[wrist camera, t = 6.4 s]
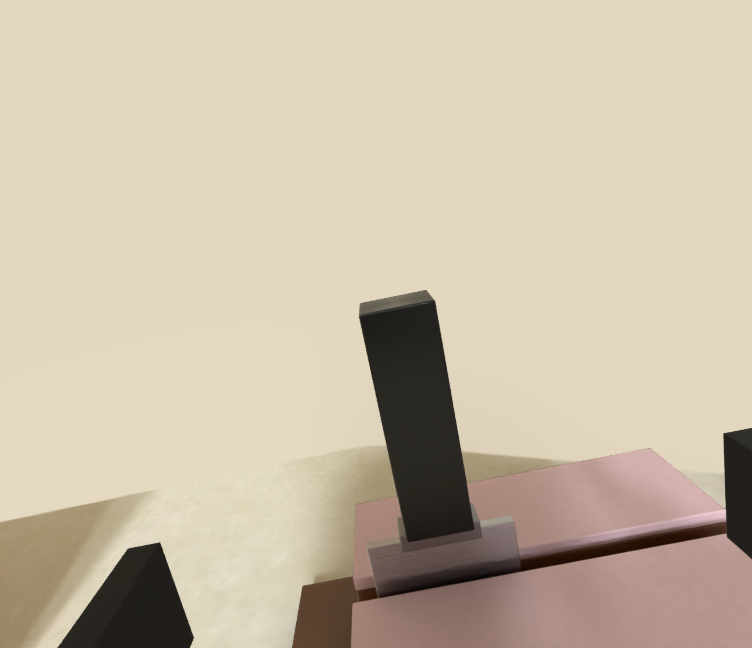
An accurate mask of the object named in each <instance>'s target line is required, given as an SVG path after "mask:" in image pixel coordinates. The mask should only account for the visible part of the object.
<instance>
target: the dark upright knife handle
mask: <svg viewBox="0 0 752 648" xmlns="http://www.w3.org/2000/svg"><path fill="white" fill-rule="evenodd" d="M359 319H360V323H361V328H362V333H363V337H364V342H365V347H366V351H367V356H368V361H369V365H370V370H371V375H372V380H373V384H374V389H375V394H376V398H377V403H378V408H379V412H380V417H381V421H382V426H383V431H384V436H385V440H386V445H387V450H388V454H389V459H390V464H391V468H392V473H393V478H394V482H395V487H396V492H397V497H398V501H399V506H400V511H401V515H402V517H398V518H397V523H398V532H399V537H393V538H388V539H383V540H378V541H372V542H367V552H368V557H369V561H370V565H371V569H372V573H373V578H374V582H375V586H376V590H377V594H378V598H384V597H389V596H394V595H400V594H405V593H410V592H416V591H421V590H427V589H432V588H437V587H443V586H448V585H453V584H459V583H464V582H469V581H475V580H480V579H486V578H491V577H496V576H502V575H507V574H512V573H518V572H522V569H521V562H520V555H519V549H518V542H517V536H516V529H515V522H514V519H513V517H512V516H511V515H510V516H504V517H499V518H494V519H488V520H483V521H480V520H479V518H478V515H477V512H476V510H475V507H474V505H473V504H472V503H471V504H470V499H469V493H468V487H467V481H466V476H465V470H464V464H463V458H462V453H461V448H460V441H459V435H458V430H457V424H456V418H455V412H454V407H453V401H452V395H451V389H450V384H449V378H448V372H447V366H446V361H445V355H444V349H443V343H442V338H441V332H440V326H439V321H438V315H437V309H436V303H435V300H434V299H433V298H432V297H431V295H430V294H429V293H428V292H427V290H423V291H418V292H414V293H409V294H404V295H399V296H394V297H389V298H384V299H379V300H375V301H369V302H364V303H361V304H360V309H359Z"/></svg>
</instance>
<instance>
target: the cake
mask: <svg viewBox="0 0 752 648" xmlns="http://www.w3.org/2000/svg"><path fill="white" fill-rule="evenodd" d="M467 487H468V493H469V499H470V504H471V503H472V504H473V505H474V507H475V510H476V512H477V515H478V518H479V520H480V521H483V520H488V519H494V518H499V517H504V516H510V515H511V516H512V517H513V519H514V522H515V529H516V536H517V542H518V549H519V555H520V562H521V569H522V572H518V573H512V574H507V575H502V576H496V577H491V578H486V579H480V580H475V581H469V582H464V583H459V584H453V585H448V586H443V587H437V588H432V589H427V590H421V591H416V592H410V593H405V594H400V595H394V596H389V597H384V598H378V594H377V590H376V586H375V582H374V578H373V573H372V569H371V565H370V561H369V557H368V552H367V542H372V541H378V540H383V539H388V538H393V537H399V532H398V523H397V518H398V517H402V515H401V511H400V506H399V501H398V497H391V498H386V499H381V500H376V501H371V502H365V503H360V504H356V512H355V542H354V572H353V581H354V585H355V589H356V592H357V596H358V600H359V602H357V603H353V605H352V634H351V648H752V559H751V558H750V557H749V556H747V555H746V554H745V553H744V552H743V551H742V550H741V549H739V548H738V547H737V546H736V545H735V544H734V543H733V542H732V541H730V540H729V539H728V538H727V532H726V509H725V508H723V507H722V506H721V505H720V504H718V503H717V502H716V501H715V500H713V499H712V498H711V497H710V496H709V495H707V494H706V493H705V492H704V491H702V490H701V489H700V488H699V487H698V486H696V485H695V484H694V483H693V482H691V481H690V480H689V479H688V478H686V477H685V476H684V475H683V474H682V473H680V472H679V471H678V470H677V469H675V468H674V467H673V466H672V465H671V464H669V463H668V462H667V461H666V460H664V459H663V458H662V457H661V456H659V455H658V454H657V453H656V452H655V451H653V450H652V449H651V448H648V449H643V450H637V451H632V452H627V453H622V454H616V455H611V456H606V457H601V458H595V459H590V460H585V461H580V462H574V463H569V464H564V465H559V466H553V467H548V468H543V469H538V470H533V471H527V472H522V473H517V474H512V475H506V476H501V477H496V478H491V479H485V480H480V481H475V482H470V483H467Z"/></svg>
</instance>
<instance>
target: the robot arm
mask: <svg viewBox="0 0 752 648" xmlns="http://www.w3.org/2000/svg"><path fill="white" fill-rule="evenodd" d="M723 436H724V466H725V499H726V530H727V538H728V539H729V540H730V541H732V542H733V543H734V544H735V545H736V546H737V547H738V548H739V549H741V550H742V551H743V552H744V553H745V554H746V555H747V556H749V557H750V558H751V559H752V428H750V429H744V430H739V431H734V432H728V433H724V435H723ZM193 639H194V637H193V634H192V631H191V628H190V625H189V623H188V620H187V617H186V614H185V611H184V609H183V606H182V603H181V600H180V597H179V594H178V592H177V589H176V586H175V583H174V580H173V577H172V575H171V572H170V569H169V566H168V563H167V561H166V558H165V555H164V552H163V549H162V546H161V544H160V543H154V544H149V545H144V546H139V547H134V548H129V549H127V551H126V552H125V554H124V555H123V556H122V558H121V559H120V561H119V562H118V563H117V565H116V566H115V568H114V569H113V571H112V572H111V573H110V575H109V576H108V578H107V579H106V580H105V582H104V583H103V585H102V586H101V587H100V589H99V590H98V592H97V593H96V594H95V596H94V597H93V599H92V600H91V602H90V603H89V604H88V606H87V607H86V609H85V610H84V611H83V613H82V614H81V616H80V617H79V618H78V620H77V621H76V623H75V624H74V625H73V627H72V628H71V630H70V631H69V633H68V634H67V635H66V637H65V638H64V640H63V641H62V642H61V644H60V645H59V647H58V648H190V646H191V644H192V641H193Z"/></svg>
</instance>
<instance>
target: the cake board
mask: <svg viewBox="0 0 752 648" xmlns="http://www.w3.org/2000/svg"><path fill="white" fill-rule="evenodd" d="M726 532H727V530H726ZM357 602H359V600H358V596H357V592H356V589H355V585H354V581H353V577H348V578H342V579H337V580H332V581H326V582H321V583H316V584H310V585H305V586H303V587H302V593H301V599H300V604H299V610H298V616H297V622H296V628H295V634H294V640H293V646H292V648H351V634H352V605H353V603H357Z"/></svg>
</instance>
